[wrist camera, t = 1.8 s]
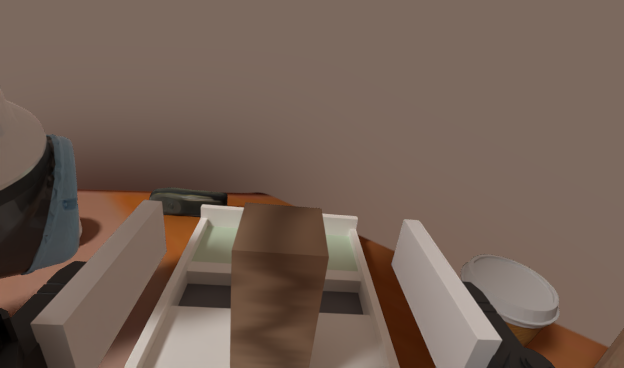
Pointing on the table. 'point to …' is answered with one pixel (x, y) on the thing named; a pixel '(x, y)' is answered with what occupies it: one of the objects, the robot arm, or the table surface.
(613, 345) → the wooden block
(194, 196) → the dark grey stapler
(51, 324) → the robot arm
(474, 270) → the disposable coffee cup
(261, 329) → the walnut block
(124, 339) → the table surface
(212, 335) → the board
